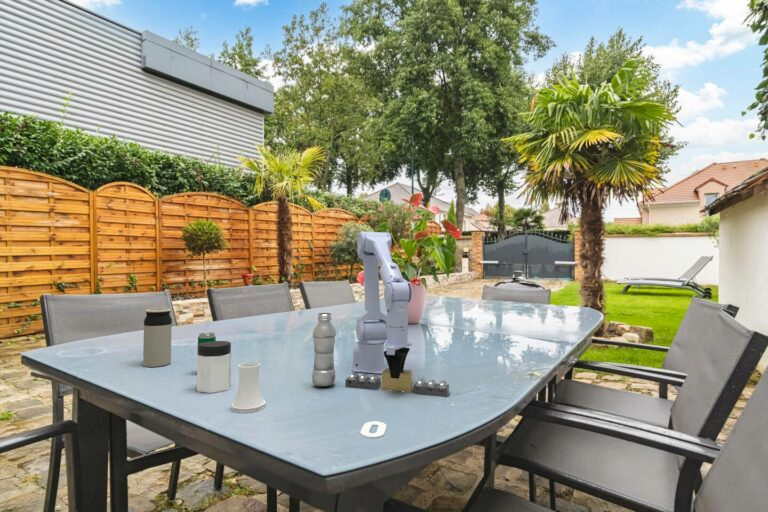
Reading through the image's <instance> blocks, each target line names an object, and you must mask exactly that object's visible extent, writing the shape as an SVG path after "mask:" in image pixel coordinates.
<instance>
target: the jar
mask: <svg viewBox="0 0 768 512" xmlns="http://www.w3.org/2000/svg"><path fill="white" fill-rule="evenodd" d="M197 352H198V354H199V355H198V356H196V358H197V359H196V363H197V364H196V365H197V367H196V368H197V369H196V392H198V393H205V394H207V393H208V394H214V393H220V392H224V391H228V390H229V388H230V386H231V385H232V381H231V378H232V342H230V341H227V340H226V341H225V340H216V341H210V342H204V343H200V344H199V348H198V347H197Z"/></svg>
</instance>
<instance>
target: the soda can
mask: <svg viewBox="0 0 768 512" xmlns="http://www.w3.org/2000/svg"><path fill="white" fill-rule="evenodd" d="M216 339H217V338H216V335H215V332H201V333H199V334H198V337H197V349H198V348H199V344H200V343H204V342H210V341H217V340H216ZM196 355H197V356H198V355H199V354H198V351H197V354H196ZM197 356H196V357H197Z"/></svg>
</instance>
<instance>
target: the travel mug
mask: <svg viewBox="0 0 768 512" xmlns="http://www.w3.org/2000/svg"><path fill="white" fill-rule="evenodd" d="M171 311H172V309H171V308H163V307H162V308H161V307H160V308H147V309H145V311H144V312H145V314H146V316H145V318H144V319H143V350H142V351H143V352H142V353H143V355H142V357H143V358H142V365H143V366H144V367H146V368H160V367H165V366H168V365H170V364H171V363H172V362H171V361H172V358H171V357H172V324H173V323H172V320H173V319H172V317H171V315H170V314H171V313H170V312H171Z"/></svg>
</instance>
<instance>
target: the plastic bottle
mask: <svg viewBox="0 0 768 512" xmlns="http://www.w3.org/2000/svg"><path fill="white" fill-rule="evenodd" d="M317 321H318V322H317V324H316V325H315V327H314V328H313V331H312V340H313V350H314V351H313V352H314V353H313V354H314V360H313V369H312V374H311V380H312V383H313V385H314V386H316V387H323V388H324V387H330V386H333V385H334V383H335V381H336V378H337V377H336V376H337V375H336V369H335V361H334V360H335V359H334V356H335V355H334V354H335V352H334V351H335V343H336V334H337V332H336V328H335V327H334V325H333V324H332V322H331V321H332V313H331V312H318V314H317Z"/></svg>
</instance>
